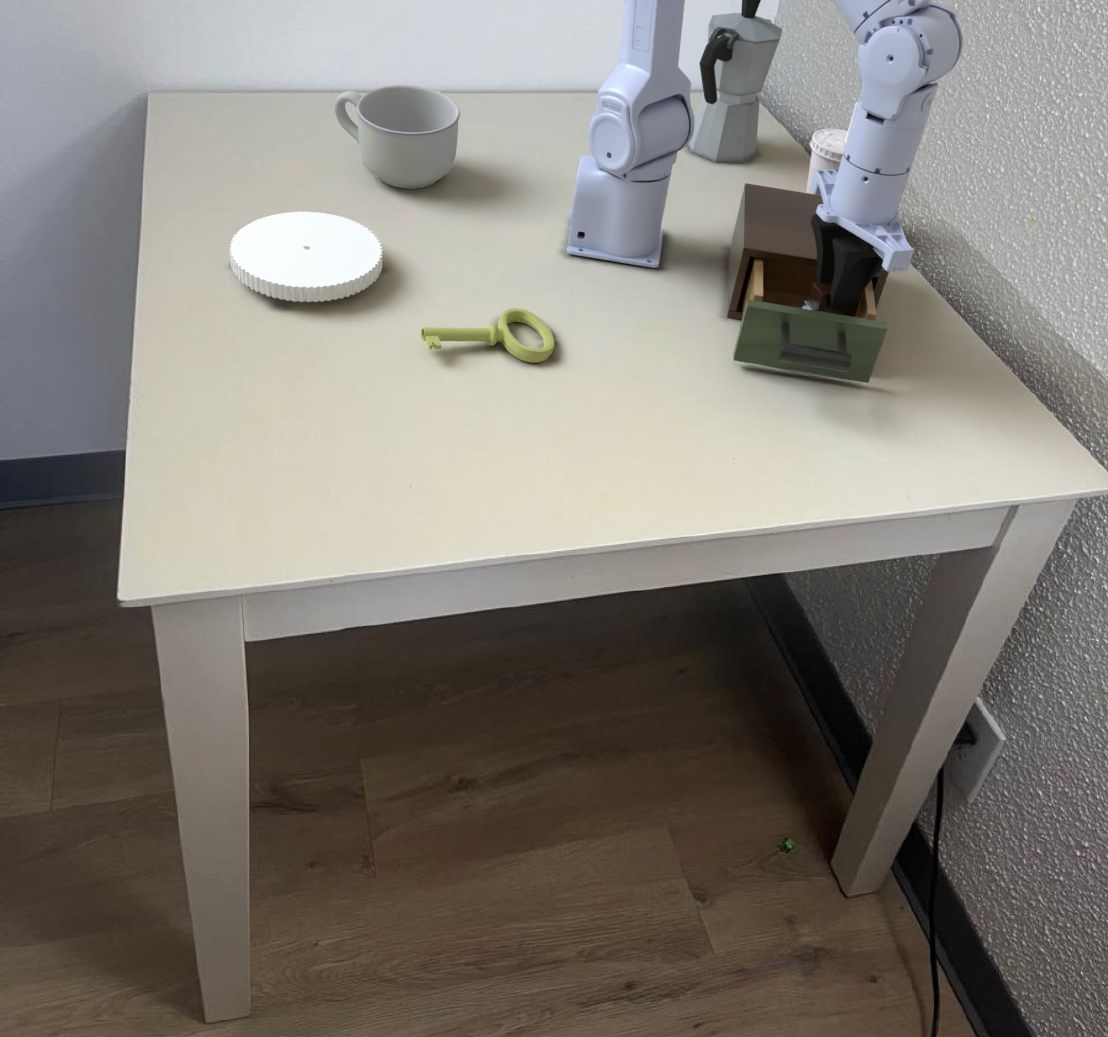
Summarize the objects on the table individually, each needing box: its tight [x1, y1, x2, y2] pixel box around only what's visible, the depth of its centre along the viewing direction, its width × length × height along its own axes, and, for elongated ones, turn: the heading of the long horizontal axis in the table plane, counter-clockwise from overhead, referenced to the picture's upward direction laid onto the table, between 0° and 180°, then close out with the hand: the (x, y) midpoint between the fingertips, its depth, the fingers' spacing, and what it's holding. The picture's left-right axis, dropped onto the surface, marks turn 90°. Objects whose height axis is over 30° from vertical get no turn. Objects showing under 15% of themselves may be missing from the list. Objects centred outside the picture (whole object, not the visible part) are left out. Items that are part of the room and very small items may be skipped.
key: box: [420, 307, 556, 364], centre depth 104 cm, size 7×12×2 cm, turn 126°
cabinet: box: [726, 182, 890, 321], centre depth 116 cm, size 14×14×8 cm
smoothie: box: [805, 100, 859, 195], centre depth 125 cm, size 6×6×14 cm
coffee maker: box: [687, 0, 783, 164], centre depth 135 cm, size 15×9×18 cm, turn 144°
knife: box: [797, 282, 863, 317], centre depth 106 cm, size 8×2×3 cm, turn 107°
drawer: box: [732, 257, 888, 383], centre depth 107 cm, size 18×12×6 cm
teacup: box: [333, 84, 461, 190], centre depth 126 cm, size 14×11×8 cm
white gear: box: [229, 210, 383, 303], centre depth 110 cm, size 14×14×2 cm
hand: (833, 300), depth 107 cm, fingers closed on knife, 2 cm apart
